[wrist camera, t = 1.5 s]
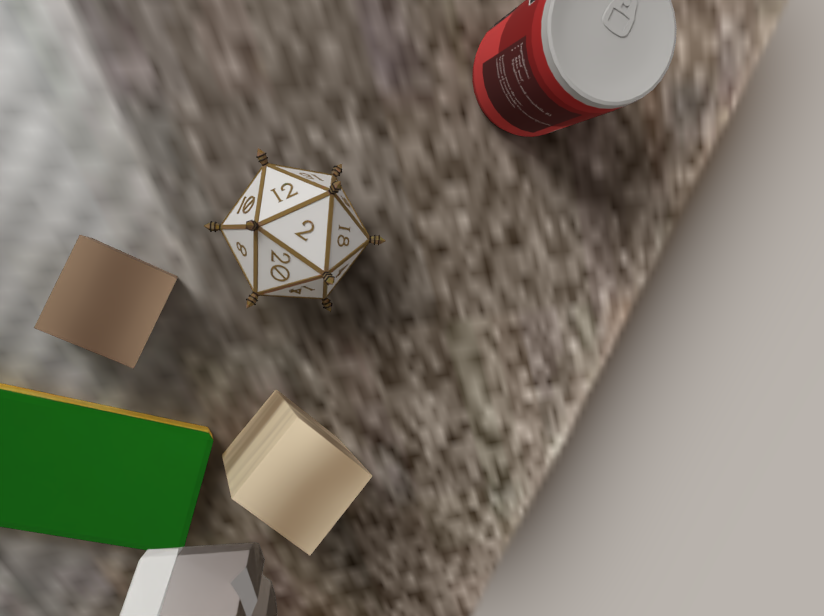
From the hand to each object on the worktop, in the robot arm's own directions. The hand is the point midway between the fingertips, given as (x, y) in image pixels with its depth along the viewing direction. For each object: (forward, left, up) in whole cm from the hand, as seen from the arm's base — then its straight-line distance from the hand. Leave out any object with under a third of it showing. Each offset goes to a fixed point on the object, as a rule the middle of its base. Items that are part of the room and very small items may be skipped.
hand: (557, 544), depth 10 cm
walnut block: (-8, -4, -38) cm, 39 cm away
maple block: (+5, -5, -38) cm, 38 cm away
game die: (-3, +5, -38) cm, 38 cm away
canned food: (+2, +23, -38) cm, 44 cm away
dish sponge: (-3, -13, -38) cm, 40 cm away
